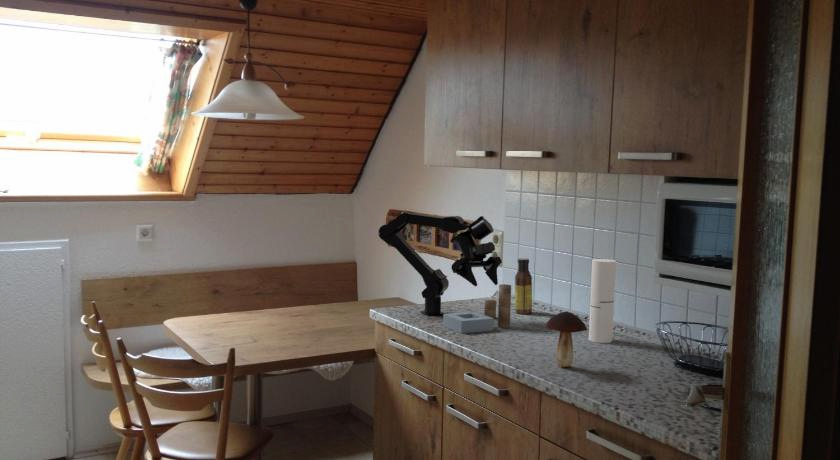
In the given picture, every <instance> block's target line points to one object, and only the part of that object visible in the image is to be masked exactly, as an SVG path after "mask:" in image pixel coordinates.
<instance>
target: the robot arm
mask: <svg viewBox="0 0 840 460" xmlns="http://www.w3.org/2000/svg"><path fill="white" fill-rule="evenodd" d="M408 225H416V226H424V227H430V228H437V229H439V230H441V231H443V232H446V233H449V234H456V233H458V234H456V235H452V237H451V238H450V242H449V243H451V244H453V245H458V247H459V249H460V252H461V253H460V254H459V256H460V257H458V258H457V259H456V260H455V261H454V262H453V263H452V264H451V270H452V273H453V274H456V275H457V276H458V275H459V276H460V277H461V278H463V279H465V280H466V281H467V282H469V283H470V284H471V285H473V286H474V287H477V286H478V281H477V280H476V277H475V274H474V273H473V269H472V268H483V271H485V275H486V276H487V277H488V278H489V280H490V281H491V282H492V283H493V284H494V285H495V286H497V285H498V283H499V281H498V280H499V279H498V267H499V266H500V265H501V264H502V263H503V261H502V259H501V256H498V255H495V256H489V257H488V258H487V259H486V257H487V255H489V254H493V253H494V251H495V250H496V247H495V244H494V243H493V241H488V242H484V243H479V244H477V243H476V241H475V240H478V241H482V240H483V239H485V238H486V237H488V236H489V235H491V234H492V233H494V227H493V225H492V224H491V223H490V222H489V221H488V220H487V219H486V218H485V217H484V215H481V216H479V217H478V218H477V219H475V220H474V221H473V222H469V221H466V220H464V218H463V217H462V216H459V215H452V216H451V215H448V216H434V215H428V214H420V213H413V212H409V211H404V212H401V213H400V214H399V215H397V217H395V218H394V219H392V220H391V221H389V222H388V223H387V224H383V225H381V226H380V227H379V229H378V237H379V238H380V240H381V241H383V242H384V243H385V244H387V245H388V246H391V247H392V248H394V249H396V250H397V252H398V253H400V255H401V256H402V257H403V258H404V259H405V260H406V261H407V263H408V264H410V265H411V267H413V269H414V270H415V271H416V272H417V273H418V274H419V275H420V276H421V278H422V281H423V283H424V285H425V286H426V287H425V288H424V289H423V290H422V291H421V297H422V298H423V299H424V310H421V311H420V313H422V314H423V315H426V316H442V315H443V314H445V312H443V311H441V310H442V297H441V296H443V295H444V293H445V291H447V290H448V289H449V284H450V283H449V280H448V275H446V274H444V272H443V271H442V269H440V268H438V269H433V268H432V267H431V266H430V265H429V264H428V263H427V262H426V261H425V260H424V258H423V257H421V255H419V254H418V253H417V251H416V250H415V249H414V247H412V246H411V245H410V244H409V243H408V242H407V241H406V238H405V236H404V234H403V232H402V231H403V230H404V228H406V226H408ZM484 259H486V260H484Z"/></svg>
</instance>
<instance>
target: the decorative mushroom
mask: <svg viewBox="0 0 840 460" xmlns="http://www.w3.org/2000/svg"><path fill="white" fill-rule="evenodd" d="M545 328H546V329H548V330H553V331H556V332H557V331H558V332H559V337H558V342H557V347H556V348H557V349H556V351H557V352H556V363H557V364H558V365H559V366H560V367H562V368H568V367H571V365H572V364H573V359H574V357H573V356H574V348H573V347H574V346H573V338H572V337H573V335H572V334H573V333H577V332H578V333H581V332H585V331H588V329H587V326H586V324H585V323H584V321H583V320H582V319H581V318H580V317H578V316H577V315H576V314H574V313H572V312H569V311H562V312H559V313H557V314H555V315H553V316H551V318H549V319H548V321H547V322H546V323H545Z"/></svg>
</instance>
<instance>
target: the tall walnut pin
mask: <svg viewBox="0 0 840 460" xmlns="http://www.w3.org/2000/svg"><path fill="white" fill-rule="evenodd" d="M511 299H512V284H504V283H503V284H499V285H498V307H497V309H498V310H497V311H498V313H497V328H498V329H510V327H511V310H512V309H511V305H512V304H511V303H512V300H511Z"/></svg>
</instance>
